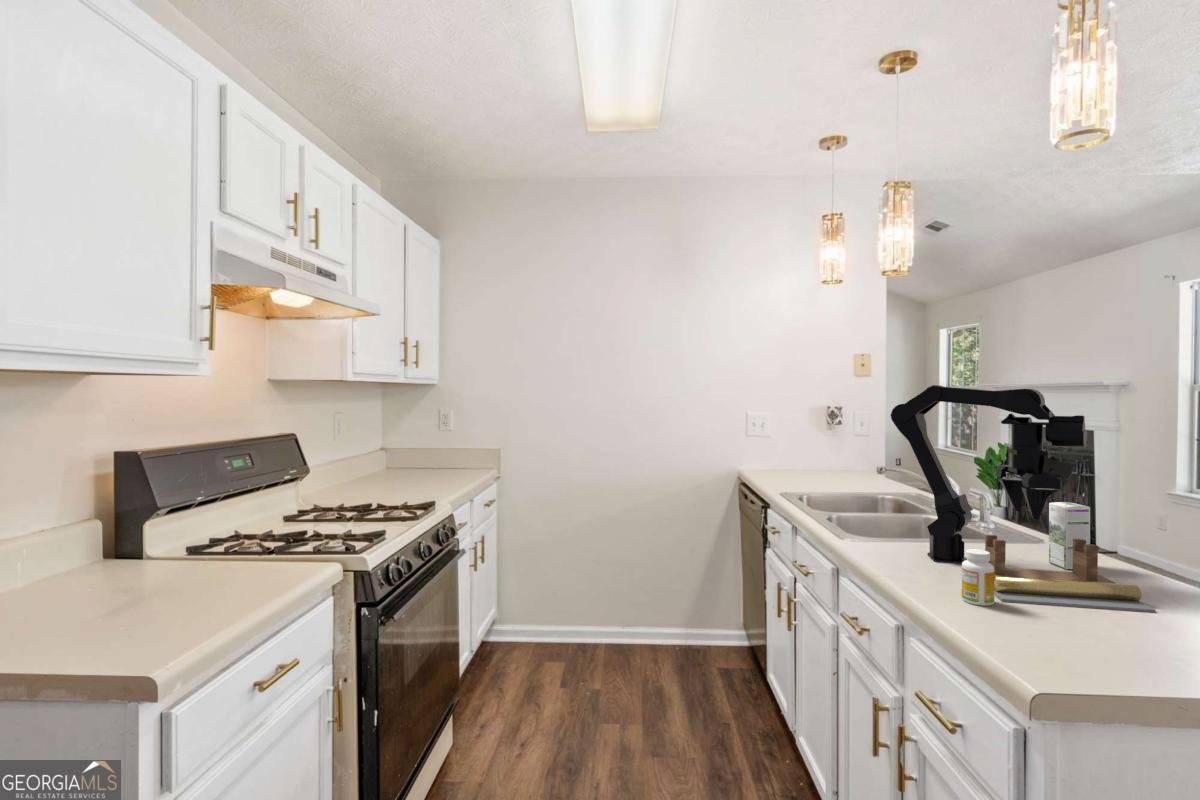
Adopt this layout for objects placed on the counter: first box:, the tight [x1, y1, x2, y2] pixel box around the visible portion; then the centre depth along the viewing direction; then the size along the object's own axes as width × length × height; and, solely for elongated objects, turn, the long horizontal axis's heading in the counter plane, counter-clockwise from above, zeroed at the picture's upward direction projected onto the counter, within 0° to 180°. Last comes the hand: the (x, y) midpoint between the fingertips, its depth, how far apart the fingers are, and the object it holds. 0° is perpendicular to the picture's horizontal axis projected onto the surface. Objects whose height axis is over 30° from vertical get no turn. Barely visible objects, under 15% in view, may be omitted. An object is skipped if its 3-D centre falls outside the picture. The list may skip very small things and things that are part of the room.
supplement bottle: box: [961, 548, 995, 607], centre depth 118 cm, size 5×5×10 cm
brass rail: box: [994, 576, 1142, 601], centre depth 120 cm, size 24×3×3 cm, turn 76°
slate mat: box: [994, 590, 1157, 613], centre depth 120 cm, size 25×10×1 cm, turn 76°
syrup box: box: [1048, 501, 1091, 570], centre depth 141 cm, size 6×6×14 cm
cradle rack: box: [984, 534, 1117, 584], centre depth 132 cm, size 25×7×8 cm, turn 76°
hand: (1026, 514), depth 136 cm, fingers open, 9 cm apart
